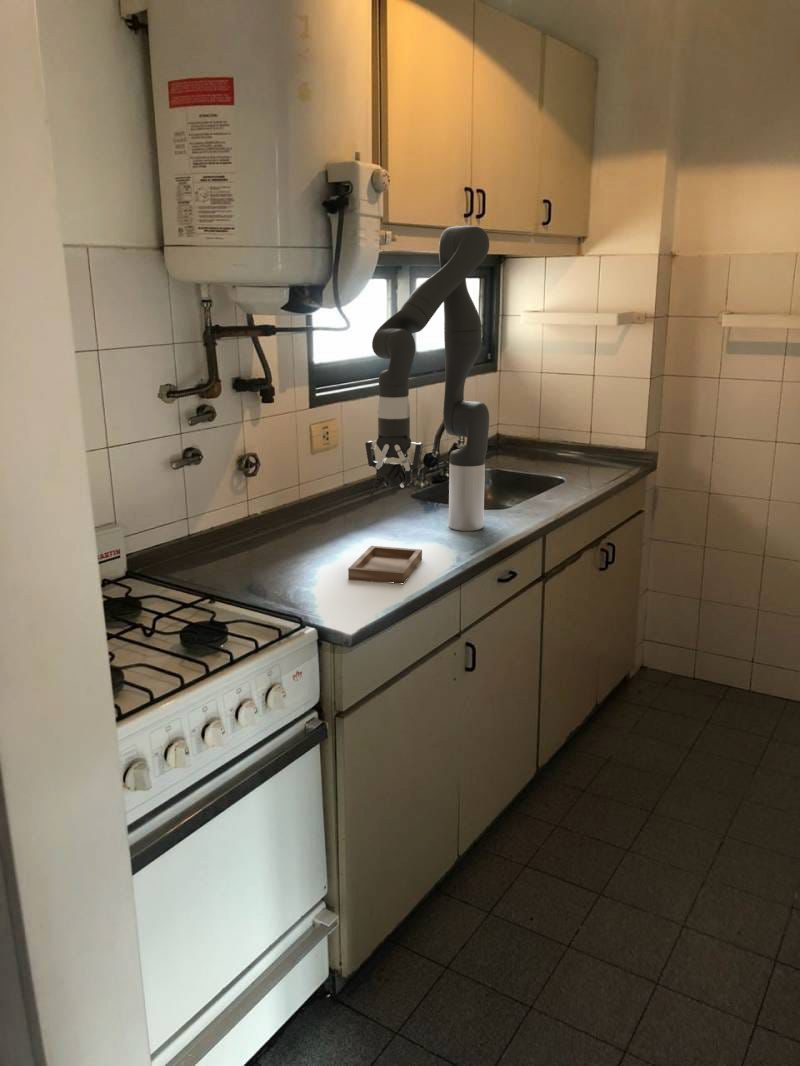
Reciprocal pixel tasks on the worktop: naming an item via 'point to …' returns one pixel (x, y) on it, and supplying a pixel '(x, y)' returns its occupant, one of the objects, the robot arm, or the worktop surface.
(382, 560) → the brown tray
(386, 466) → the power plug
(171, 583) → the worktop surface
